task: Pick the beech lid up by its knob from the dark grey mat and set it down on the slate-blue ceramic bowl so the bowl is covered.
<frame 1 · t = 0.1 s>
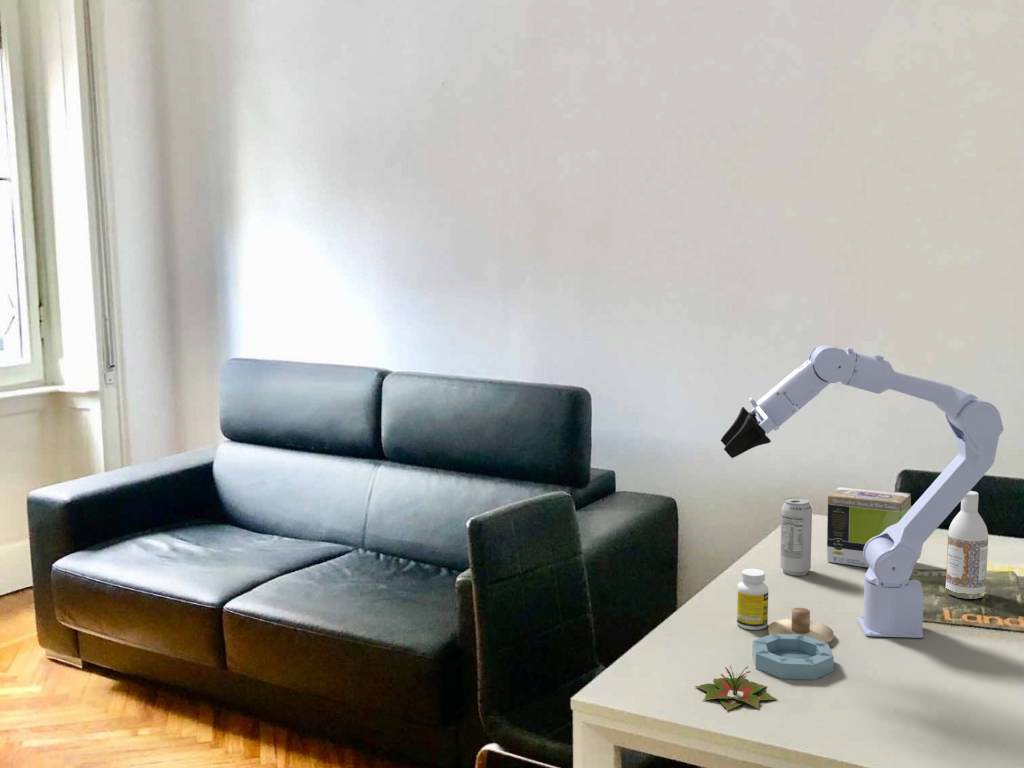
hand: (726, 449, 175), 32 cm above the table, tool tilted 50°, fingers open, 7 cm apart
bowl: (792, 663, 163), on the table
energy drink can: (795, 572, 207), on the table
lily flower: (735, 698, 153), on the table
lid: (800, 634, 174), resting on mat
tea box: (867, 562, 213), on the table
supplement bottle: (752, 626, 179), on the table
bath foam: (965, 595, 193), on the table
mat: (800, 636, 174), on the table
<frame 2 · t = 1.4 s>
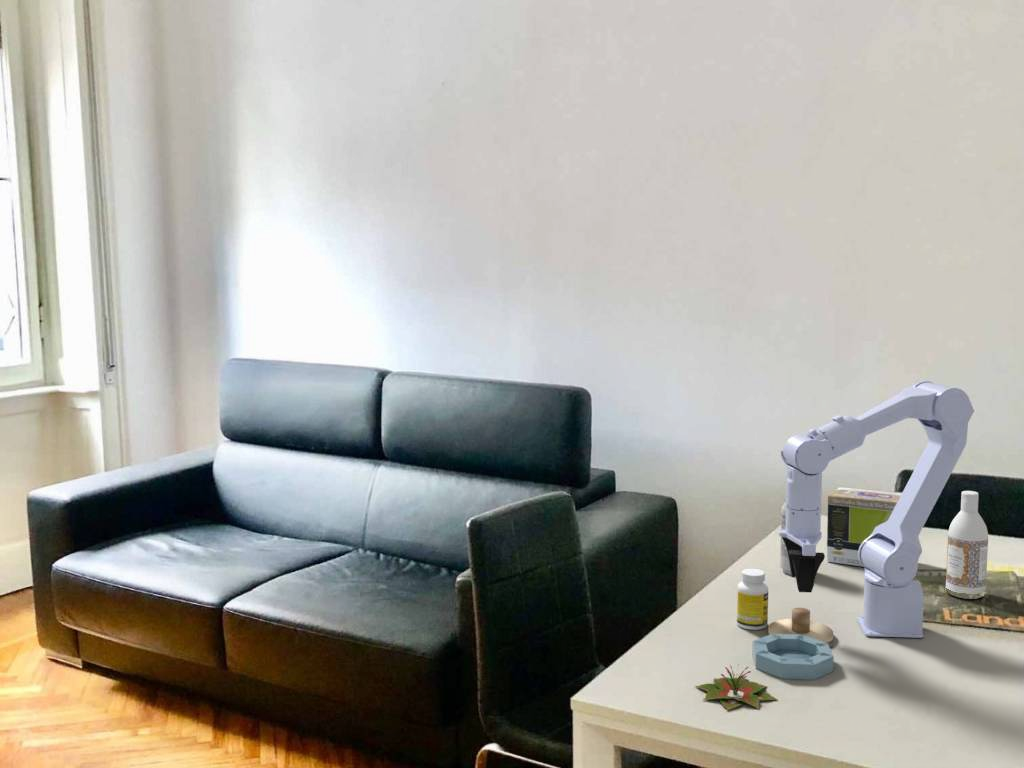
hand: (801, 583, 173), 9 cm above the table, tool pointing down, fingers open, 7 cm apart
nothing on the table moved.
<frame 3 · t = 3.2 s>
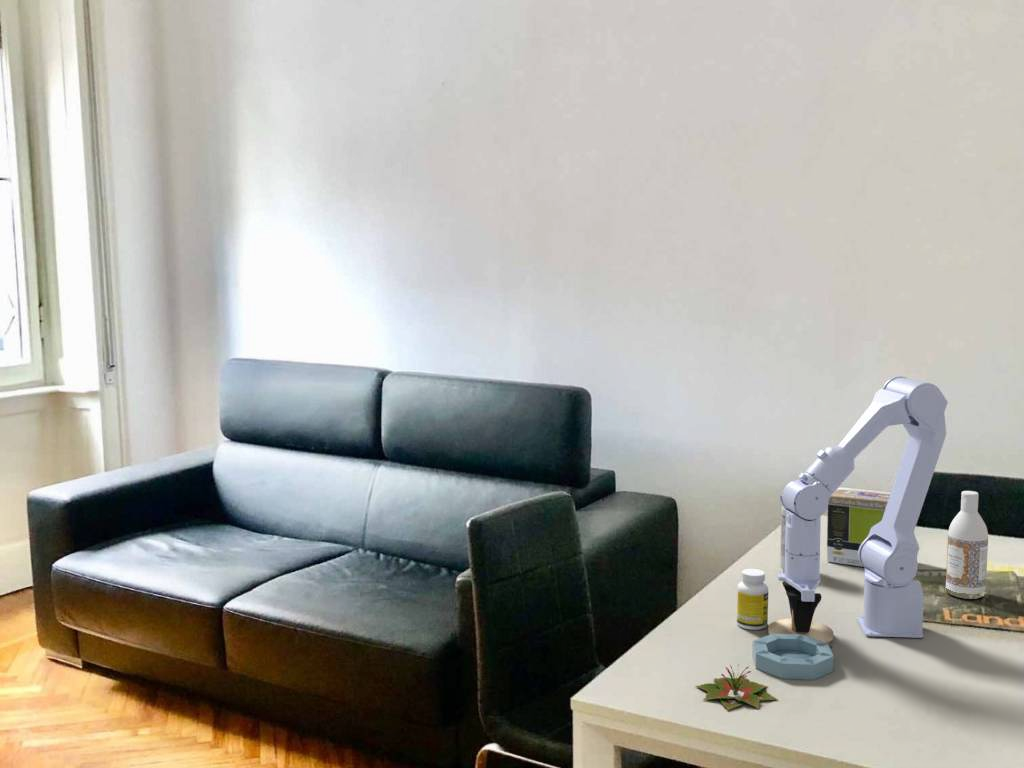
hand: (800, 627, 174), 2 cm above the table, tool pointing down, fingers closed on lid, 3 cm apart
lid: (800, 634, 174), resting on mat, touching gripper
everything else where it was.
when the fingers open (5 cm above the table, at t = 5.7 s): lid stays where it is, resting on bowl.
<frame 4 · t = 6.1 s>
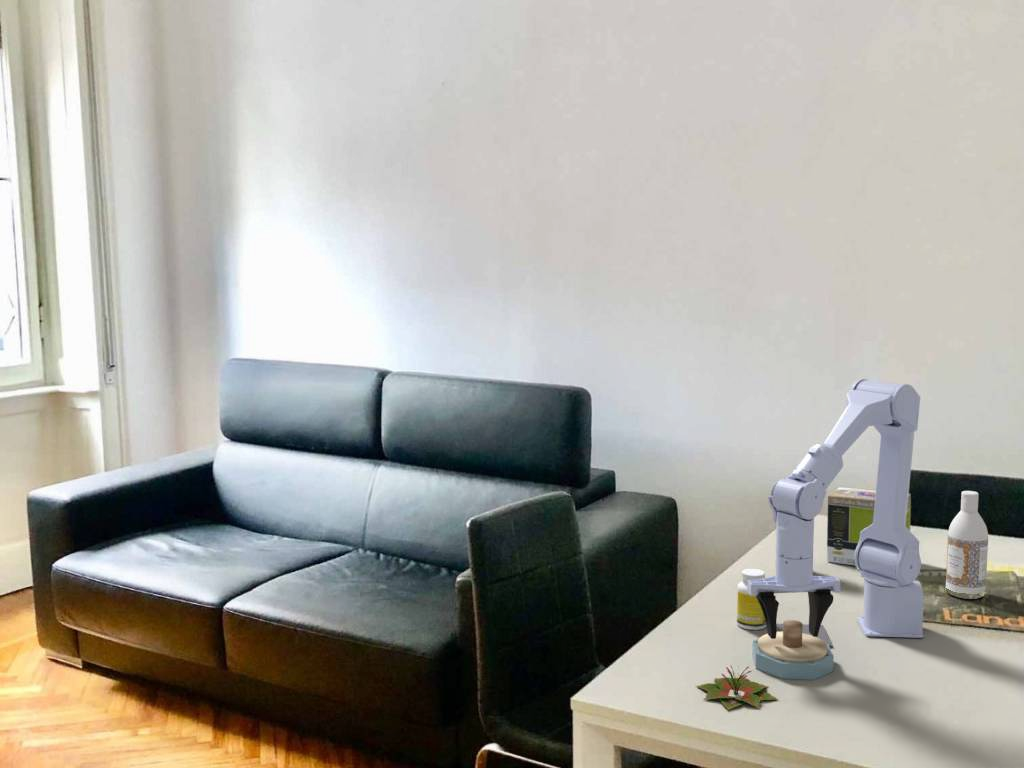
hand: (792, 635, 162), 5 cm above the table, tool pointing down, fingers open, 6 cm apart
lid: (792, 648, 163), point 2 cm above the table, touching bowl
everything else where it was.
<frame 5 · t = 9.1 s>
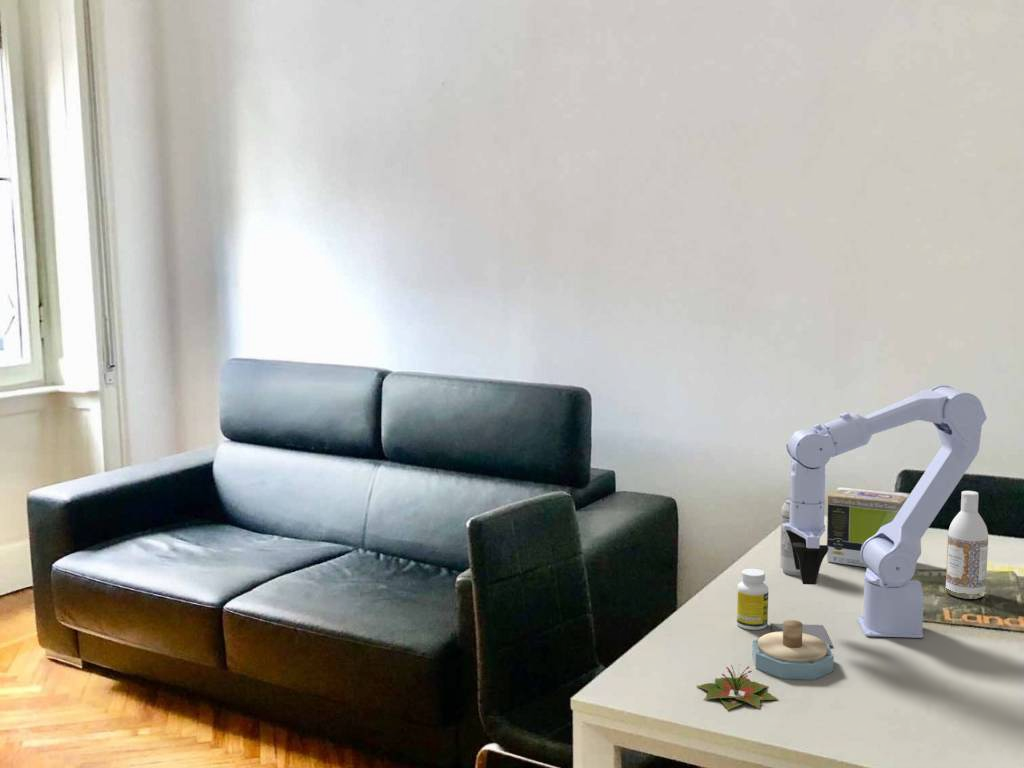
hand: (805, 576, 175), 10 cm above the table, tool pointing down, fingers open, 7 cm apart
nothing on the table moved.
at the end: lid 0.1 cm off-centre on the bowl, point 2.5 cm above the bowl's base; lid tilted 0°; the gripper is holding nothing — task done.
